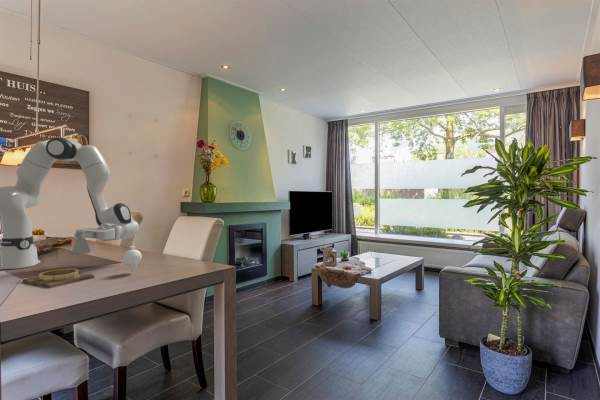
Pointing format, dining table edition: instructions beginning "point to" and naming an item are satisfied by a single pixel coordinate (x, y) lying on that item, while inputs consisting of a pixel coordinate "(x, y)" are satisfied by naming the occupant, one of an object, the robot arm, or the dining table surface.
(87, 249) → the flask
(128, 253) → the spinning top
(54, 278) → the wooden ring
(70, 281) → the walnut board
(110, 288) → the dining table surface
